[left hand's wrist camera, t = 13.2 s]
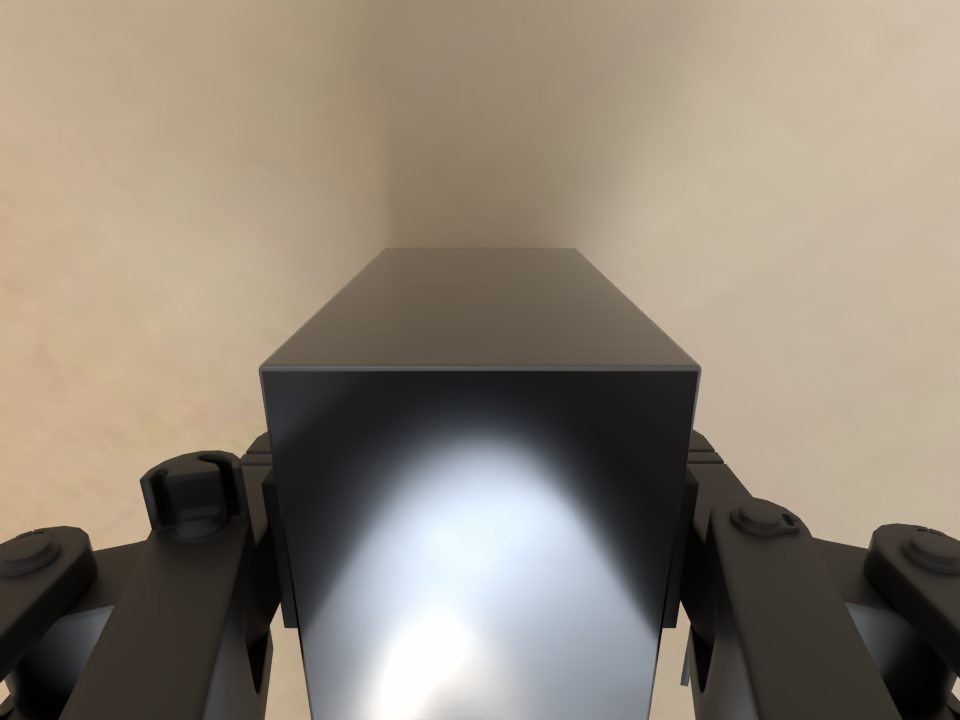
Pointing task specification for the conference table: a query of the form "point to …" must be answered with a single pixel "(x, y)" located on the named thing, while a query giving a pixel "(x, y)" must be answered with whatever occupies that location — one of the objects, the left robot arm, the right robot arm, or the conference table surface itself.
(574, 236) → the conference table surface
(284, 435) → the bar
